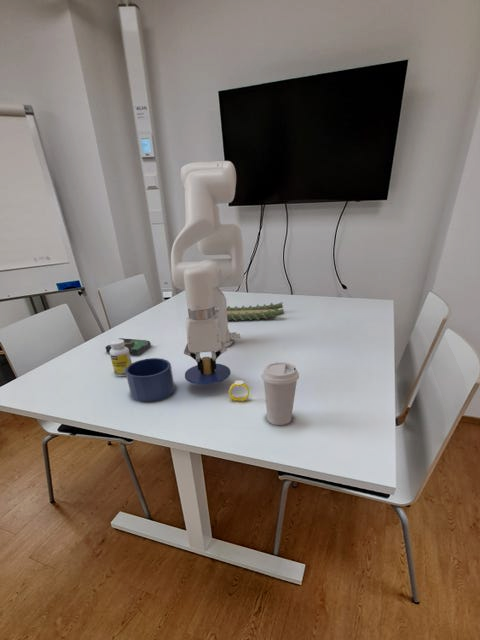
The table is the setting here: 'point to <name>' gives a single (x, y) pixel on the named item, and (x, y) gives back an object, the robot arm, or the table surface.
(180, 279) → the robot arm
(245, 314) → the green spiky bar
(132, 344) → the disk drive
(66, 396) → the table surface
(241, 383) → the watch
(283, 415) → the coffee cup
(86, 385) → the table surface
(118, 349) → the pill bottle
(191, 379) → the lid
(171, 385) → the tin
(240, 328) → the table surface
